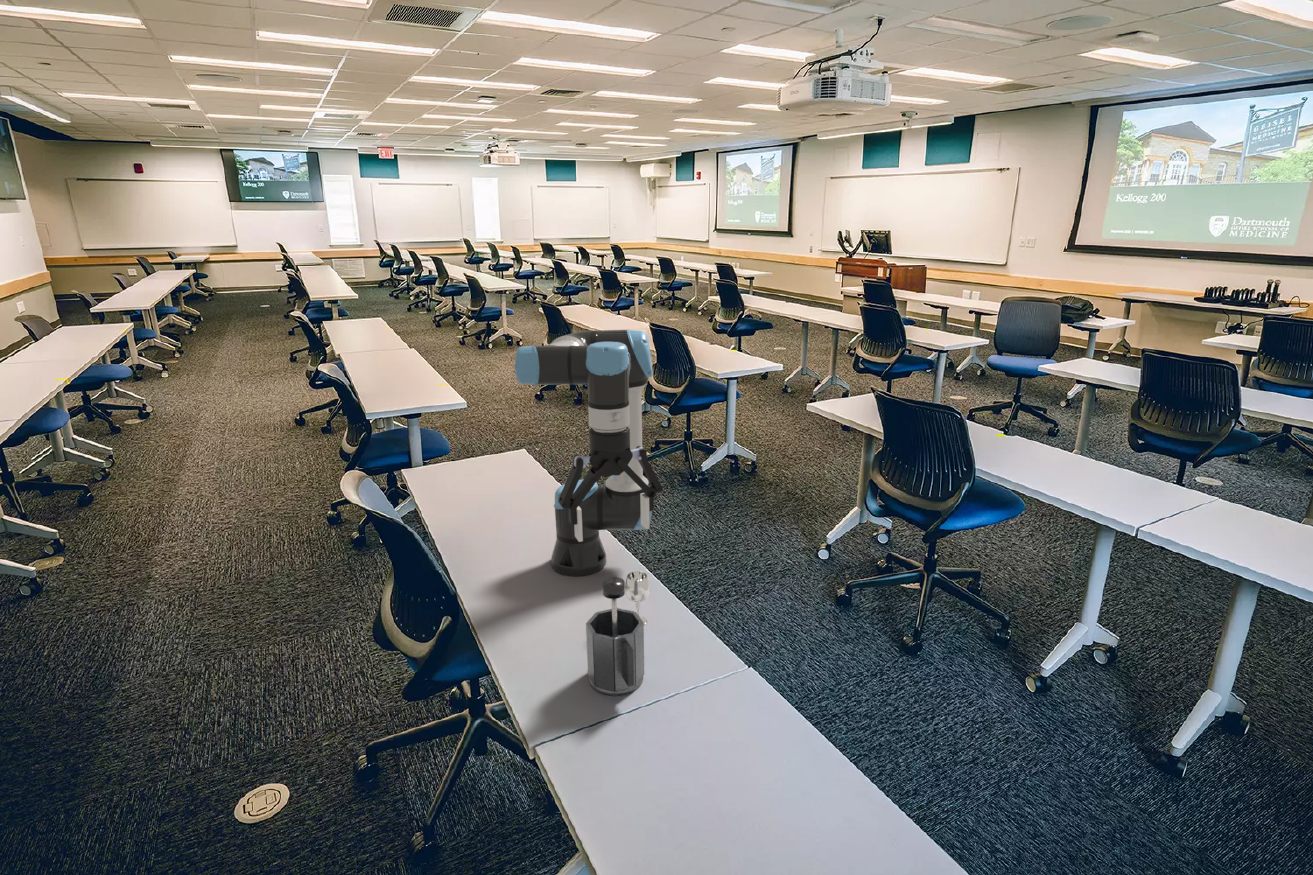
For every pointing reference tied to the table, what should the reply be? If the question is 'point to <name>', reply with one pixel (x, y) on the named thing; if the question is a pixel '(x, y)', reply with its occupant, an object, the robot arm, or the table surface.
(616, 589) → the plunger
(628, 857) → the table surface
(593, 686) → the octagonal container
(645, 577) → the wineglass
